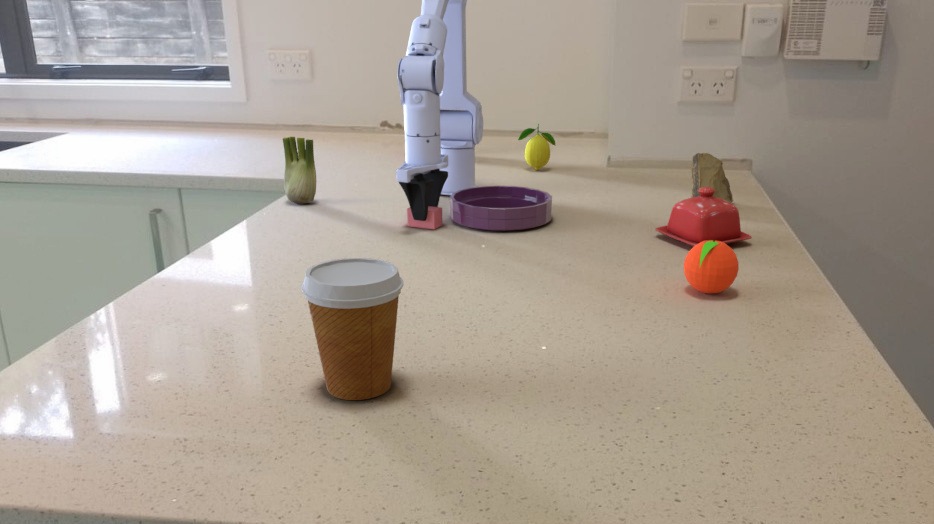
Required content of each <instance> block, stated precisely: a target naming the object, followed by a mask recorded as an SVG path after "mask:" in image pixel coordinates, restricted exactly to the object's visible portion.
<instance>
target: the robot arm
mask: <svg viewBox="0 0 934 524" xmlns="http://www.w3.org/2000/svg"><path fill="white" fill-rule="evenodd" d="M467 2H468V0H421V8H420V15H419V16H417V17H415V18H414V20H413V21H412V23H411V27H410V28H411V29H410V32H409V38H408V43H407V47H406V52H405V55H404V56H403V58H400V59H399V60H398V62H397V63H398V64H397V72H396V73H397V76H396V77H397V86H398V90H399V94H400V96H399V97H400V98H399V99H400V105H402V106H403V126H404V128H403V129H404V155H405V156H404V157H405V161H404V162H403V163H402V164H401V166H400V167H399V168H397V169H396V170H395V173H396V174H395V175H396V182H397V183H398V184H399V186H400V187H401V188H402V190H403V192H404V194H405V196H406V199H407V202H408V204H409V207H410V209H411V212H412V216H413V219H414V220H420V221H425V220H426V219H427V214H428V206H432V207H439V203H440V199H441V195H444V196H451V195H452V193H454V192H457V191H459V190H463V189H467V188H472V187H480V185H476V146H477V145H480V143H481V142H482V140H483V136H484V116H483V107H482V103H481V102H480V100H479V99H477V98H476V97H475V96H474V95H472V94H471V93H470V92H469V91H468V89H467V87H468V86H467V24H466V23H467V20H466V19H467V18H466V17H467V15H466V14H467V13H466V9H467Z"/></svg>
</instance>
